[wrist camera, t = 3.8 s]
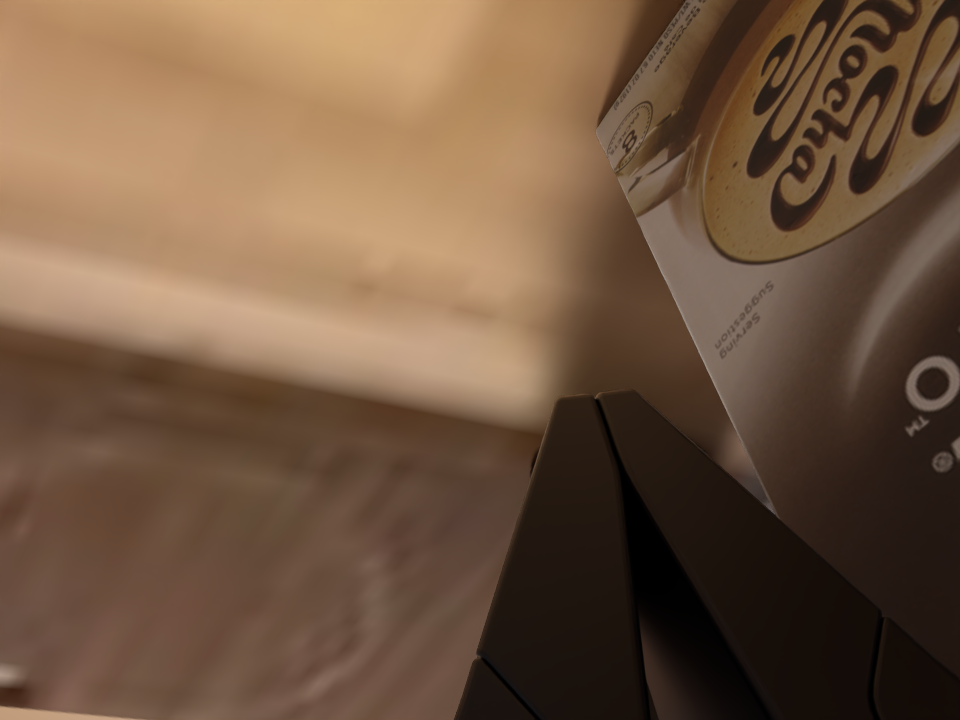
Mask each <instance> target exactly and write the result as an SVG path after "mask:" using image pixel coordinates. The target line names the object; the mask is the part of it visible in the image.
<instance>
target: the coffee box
mask: <svg viewBox="0 0 960 720" xmlns="http://www.w3.org/2000/svg"><path fill="white" fill-rule="evenodd" d="M596 135H597V137H598V139H599V141H600V143H601V145H602V147H603V149H604V151H605V154H606V156H607V158H608V160H609V162H610V164H611V166H612V168H613V170H614V172H615V174H616V176H617V178H618V180H619V183H620V185H621V187H622V189H623V191H624V194H625V196H626V198H627V200H628V202H629V204H630V206H631V208H632V210H633V212H634V214H635V216H636V219H637V221H638V223H639V225H640V227H641V230H642V232H643V235H644V237H645V239H646V241H647V243H648V245H649V247H650V249H651V251H652V254H653V256H654V258H655V260H656V262H657V264H658V266H659V269H660V271H661V273H662V275H663V277H664V279H665V281H666V283H667V285H668V287H669V289H670V291H671V293H672V295H673V298H674V300H675V302H676V304H677V306H678V308H679V311H680V313H681V315H682V317H683V319H684V322H685V324H686V326H687V328H688V330H689V332H690V335H691V337H692V339H693V341H694V343H695V345H696V347H697V349H698V352H699V354H700V356H701V358H702V360H703V362H704V364H705V366H706V369H707V371H708V373H709V375H710V377H711V379H712V381H713V384H714V386H715V388H716V390H717V392H718V394H719V396H720V398H721V401H722V403H723V405H724V407H725V409H726V411H727V413H728V415H729V418H730V420H731V422H732V424H733V426H734V428H735V430H736V432H737V435H738V437H739V439H740V441H741V443H742V445H743V447H744V449H745V452H746V454H747V456H748V458H749V460H750V462H751V464H752V466H753V469H754V471H755V473H756V475H757V477H758V479H759V481H760V483H761V486H762V488H763V490H764V492H765V494H766V496H767V498H768V500H769V503H770V505H771V507H772V509H773V511H774V513H775V515H776V516H777V517H778V518H779V519H780V520H781V521H782V522H783V523H785V524H786V525H787V526H788V527H789V528H790V529H791V530H792V531H794V532H795V533H796V534H797V535H798V536H799V537H800V538H801V539H803V540H804V541H805V542H806V543H807V544H808V545H809V546H810V547H811V548H813V549H814V550H815V551H816V552H817V553H818V554H819V555H820V556H822V557H823V558H824V559H825V560H826V561H827V562H828V563H829V564H831V565H832V566H833V567H834V568H835V569H836V570H837V571H838V572H840V573H841V574H842V575H843V576H844V577H845V578H846V579H847V580H848V581H850V582H851V583H852V584H853V585H854V586H855V587H856V588H857V589H859V590H860V591H861V592H862V593H863V594H864V595H865V596H866V597H868V598H869V599H870V600H871V601H872V602H873V603H874V604H875V605H876V606H878V607H879V608H880V609H881V611H882V618H883V617H890V618H892V619H893V620H894V621H895V622H896V623H897V624H898V625H899V626H901V627H902V628H903V629H904V630H905V631H906V632H907V633H908V634H909V635H911V636H912V637H913V638H914V639H915V640H916V641H917V642H918V643H920V644H921V645H922V646H923V647H924V648H925V649H926V650H927V651H929V652H930V653H931V654H932V655H933V656H935V657H936V658H937V659H938V660H939V661H940V662H942V663H943V664H944V665H945V666H946V667H947V668H949V669H950V670H951V671H952V672H953V673H954V674H956V675H957V676H958V677H959V678H960V0H686V1H685V3H684V4H683V6H682V7H681V8H680V10H679V11H678V13H677V14H676V16H675V17H674V18H673V20H672V21H671V23H670V24H669V25H668V27H667V28H666V30H665V31H664V33H663V34H662V35H661V37H660V38H659V40H658V41H657V43H656V44H655V45H654V47H653V48H652V50H651V51H650V53H649V54H648V55H647V57H646V58H645V60H644V61H643V63H642V64H641V65H640V67H639V68H638V70H637V71H636V73H635V74H634V75H633V77H632V78H631V80H630V81H629V83H628V84H627V86H626V87H625V88H624V90H623V91H622V93H621V94H620V96H619V97H618V98H617V100H616V101H615V103H614V104H613V106H612V107H611V109H610V110H609V111H608V113H607V114H606V116H605V117H604V119H603V120H602V122H601V123H600V125H599V126H598V128H597V129H596Z"/></svg>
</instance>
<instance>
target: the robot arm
mask: <svg viewBox="0 0 960 720" xmlns="http://www.w3.org/2000/svg"><path fill="white" fill-rule="evenodd" d="M476 655H477V659H475V660H474V661H473V663H472V666H471V669H470V672H469V676H468V679H467V682H466V685H465V688H464V692H463V695H462V698H461V701H460V704H459V707H458V709H457V712H456V715H455V718H454V720H960V678H959V677H958V676H957V675H956V674H954V673H953V672H952V671H951V670H950V669H949V668H947V667H946V666H945V665H944V664H943V663H942V662H940V661H939V660H938V659H937V658H936V657H935V656H933V655H932V654H931V653H930V652H929V651H927V650H926V649H925V648H924V647H923V646H922V645H921V644H920V643H918V642H917V641H916V640H915V639H914V638H913V637H912V636H911V635H909V634H908V633H907V632H906V631H905V630H904V629H903V628H902V627H901V626H899V625H898V624H897V623H896V622H895V621H894V620H893V619H892V618H890V617H883V618H882V611H881V609H880V608H879V607H878V606H876V605H875V604H874V603H873V602H872V601H871V600H870V599H869V598H868V597H866V596H865V595H864V594H863V593H862V592H861V591H860V590H859V589H857V588H856V587H855V586H854V585H853V584H852V583H851V582H850V581H848V580H847V579H846V578H845V577H844V576H843V575H842V574H841V573H840V572H838V571H837V570H836V569H835V568H834V567H833V566H832V565H831V564H829V563H828V562H827V561H826V560H825V559H824V558H823V557H822V556H820V555H819V554H818V553H817V552H816V551H815V550H814V549H813V548H811V547H810V546H809V545H808V544H807V543H806V542H805V541H804V540H803V539H801V538H800V537H799V536H798V535H797V534H796V533H795V532H794V531H792V530H791V529H790V528H789V527H788V526H787V525H786V524H785V523H783V522H782V521H781V520H780V519H779V518H778V517H777V516H776V515H775V514H773V513H772V512H771V511H770V510H769V509H768V508H767V507H766V506H764V505H763V504H762V503H761V502H760V501H759V500H758V499H757V498H755V497H754V496H753V495H752V494H751V493H750V492H749V491H748V490H747V489H745V488H744V487H743V486H742V485H741V484H740V483H739V482H738V481H736V480H735V479H734V478H733V477H732V476H731V475H730V474H729V473H727V472H726V471H725V470H724V469H723V468H722V467H721V466H720V465H718V464H717V463H716V462H715V461H714V460H713V459H712V458H711V457H710V456H708V454H707V452H706V451H705V450H702V449H701V448H699V447H698V446H697V445H696V444H695V443H694V442H693V441H692V440H690V439H689V438H688V437H687V436H686V435H685V434H684V433H683V432H682V431H680V430H679V429H678V428H677V427H676V426H675V425H674V424H673V423H671V422H670V421H669V420H668V419H667V418H666V417H665V416H664V415H662V414H661V413H660V412H659V411H658V410H657V409H656V408H655V407H654V406H652V405H651V404H650V403H649V402H648V401H647V400H646V399H645V398H643V397H642V396H641V395H640V394H639V393H638V392H636V391H634V390H632V389H623V390H614V391H605V392H600V393H598V394H597V395H596V397H594V396H593V395H591V394H588V393H586V394H577V395H568V396H560V397H558V398H557V399H556V400H555V402H554V404H553V408H552V411H551V414H550V417H549V421H548V424H547V427H546V430H545V433H544V437H543V440H542V443H541V446H540V449H539V453H538V456H537V459H536V462H535V465H534V468H533V469H532V470H531V471H530V482H529V485H528V488H527V491H526V494H525V498H524V501H523V504H522V507H521V510H520V514H519V517H518V520H517V523H516V526H515V530H514V533H513V536H512V539H511V543H510V546H509V549H508V552H507V555H506V559H505V562H504V565H503V568H502V571H501V575H500V578H499V581H498V584H497V587H496V591H495V594H494V597H493V600H492V604H491V607H490V610H489V613H488V616H487V620H486V623H485V626H484V629H483V632H482V636H481V639H480V642H479V645H478V648H477V652H476Z"/></svg>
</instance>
